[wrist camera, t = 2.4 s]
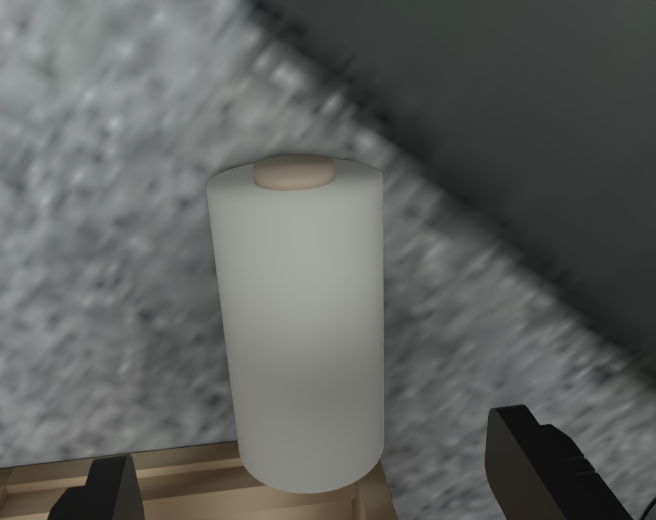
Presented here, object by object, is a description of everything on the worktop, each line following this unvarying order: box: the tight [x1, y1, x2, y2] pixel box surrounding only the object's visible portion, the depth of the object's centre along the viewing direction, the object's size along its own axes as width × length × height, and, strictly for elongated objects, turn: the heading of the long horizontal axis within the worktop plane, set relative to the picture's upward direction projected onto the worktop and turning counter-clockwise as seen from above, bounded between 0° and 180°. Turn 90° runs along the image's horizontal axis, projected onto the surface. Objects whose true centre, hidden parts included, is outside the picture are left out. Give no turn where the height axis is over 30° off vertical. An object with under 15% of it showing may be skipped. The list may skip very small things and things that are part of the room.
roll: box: [206, 154, 385, 494], centre depth 20 cm, size 10×5×5 cm, turn 3°
